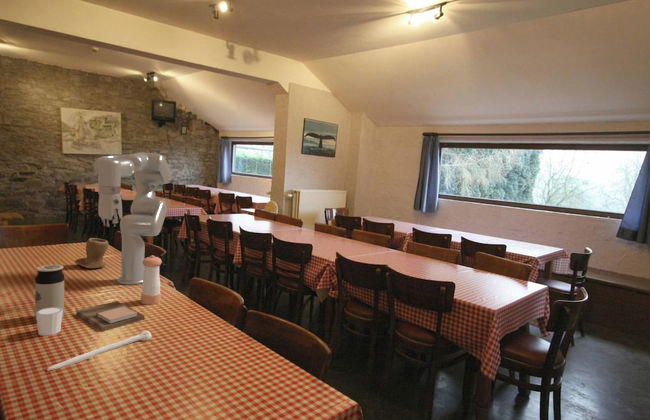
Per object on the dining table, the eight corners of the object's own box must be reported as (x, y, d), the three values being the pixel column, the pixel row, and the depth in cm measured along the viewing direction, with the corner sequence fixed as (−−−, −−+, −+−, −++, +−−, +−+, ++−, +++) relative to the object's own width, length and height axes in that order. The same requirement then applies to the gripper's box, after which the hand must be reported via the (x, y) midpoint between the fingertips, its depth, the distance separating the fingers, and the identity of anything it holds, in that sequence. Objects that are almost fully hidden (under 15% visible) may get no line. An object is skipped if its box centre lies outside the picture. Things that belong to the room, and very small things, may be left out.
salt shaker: (164, 300, 149) (166, 255, 147) (149, 305, 143) (151, 258, 141) (152, 297, 152) (153, 252, 150) (136, 302, 146) (138, 255, 144)
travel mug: (61, 311, 131) (62, 263, 129) (65, 318, 125) (66, 268, 124) (33, 316, 125) (33, 266, 124) (36, 324, 120) (37, 271, 118)
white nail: (52, 376, 93) (52, 366, 92) (45, 371, 95) (45, 360, 95) (154, 339, 116) (154, 331, 116) (147, 336, 118) (147, 327, 118)
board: (76, 314, 130) (76, 310, 129) (116, 304, 141) (116, 301, 141) (102, 331, 118) (102, 327, 118) (144, 319, 130) (144, 315, 130)
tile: (110, 319, 120) (110, 323, 120) (136, 312, 128) (136, 315, 128) (96, 312, 126) (96, 315, 126) (122, 305, 133) (122, 309, 134)
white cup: (67, 329, 118) (68, 309, 117) (45, 338, 111) (45, 316, 110) (53, 325, 120) (53, 305, 119) (30, 333, 113) (30, 312, 113)
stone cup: (112, 267, 190) (112, 239, 188) (86, 271, 180) (87, 242, 179) (98, 261, 198) (99, 235, 197) (73, 265, 189) (74, 237, 187)
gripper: (129, 192, 141) (128, 238, 143) (109, 188, 149) (109, 231, 151) (109, 192, 135) (109, 240, 137) (90, 188, 143) (90, 234, 145)
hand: (109, 236), depth 144 cm, fingers closed
